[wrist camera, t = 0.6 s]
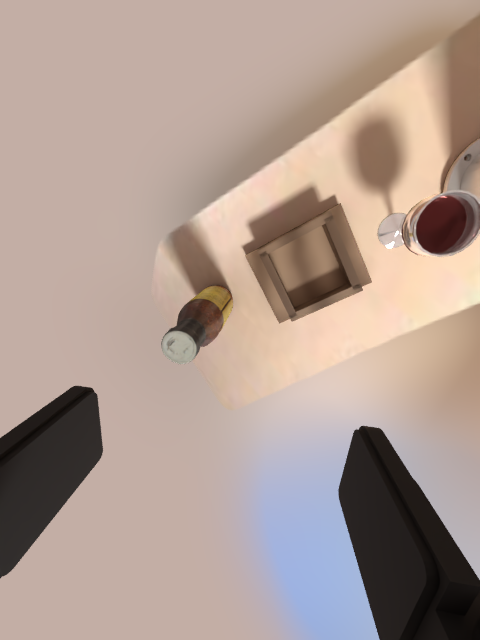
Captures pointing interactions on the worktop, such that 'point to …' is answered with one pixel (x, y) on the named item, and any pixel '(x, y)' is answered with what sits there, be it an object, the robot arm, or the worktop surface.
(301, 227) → the caddy
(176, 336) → the sauce bottle
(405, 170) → the worktop surface
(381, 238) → the wineglass
